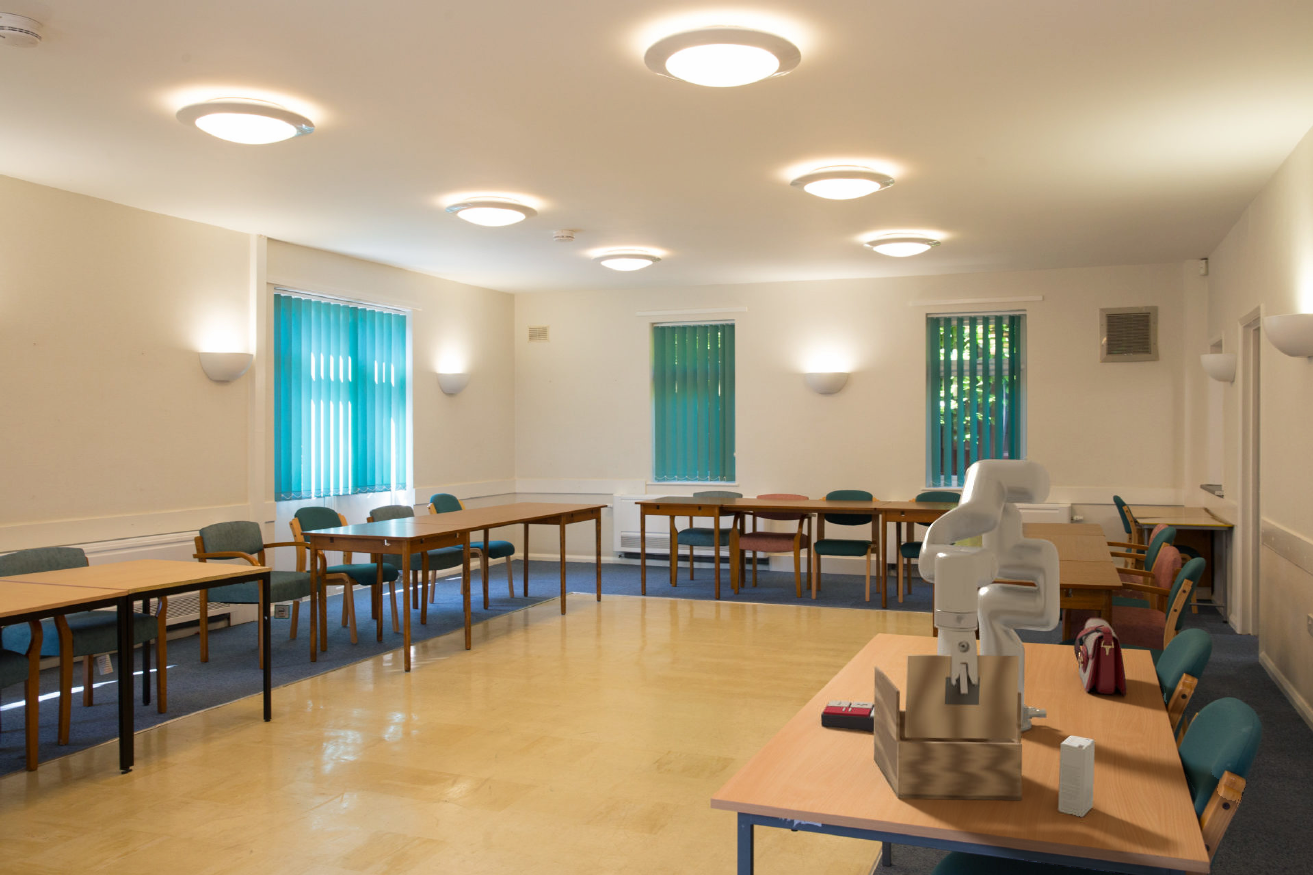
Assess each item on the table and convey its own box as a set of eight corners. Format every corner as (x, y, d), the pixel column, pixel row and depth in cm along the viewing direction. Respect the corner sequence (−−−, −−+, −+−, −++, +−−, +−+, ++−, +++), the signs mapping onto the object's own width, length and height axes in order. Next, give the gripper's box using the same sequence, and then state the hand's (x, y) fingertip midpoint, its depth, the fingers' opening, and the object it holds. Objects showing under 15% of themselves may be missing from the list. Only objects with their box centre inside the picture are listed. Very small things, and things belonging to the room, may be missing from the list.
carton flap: (1017, 655, 164) (1019, 657, 164) (1014, 737, 166) (1015, 738, 165) (907, 654, 165) (908, 655, 164) (904, 735, 166) (905, 737, 165)
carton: (984, 760, 185) (985, 666, 185) (1022, 800, 165) (1023, 694, 165) (872, 759, 186) (873, 664, 186) (896, 798, 166) (897, 692, 166)
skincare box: (1067, 801, 165) (1068, 733, 165) (1094, 807, 162) (1095, 739, 162) (1057, 811, 160) (1057, 742, 160) (1084, 818, 157) (1085, 747, 157)
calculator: (828, 698, 217) (894, 701, 212) (829, 716, 217) (895, 720, 212) (820, 711, 207) (889, 715, 202) (821, 730, 207) (890, 735, 201)
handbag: (1072, 670, 258) (1072, 608, 258) (1113, 673, 255) (1114, 610, 255) (1081, 696, 232) (1082, 627, 232) (1128, 701, 228) (1129, 630, 228)
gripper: (990, 628, 161) (989, 733, 161) (963, 611, 176) (963, 707, 176) (946, 627, 161) (946, 732, 161) (924, 611, 176) (923, 707, 176)
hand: (954, 719), depth 168 cm, fingers closed
